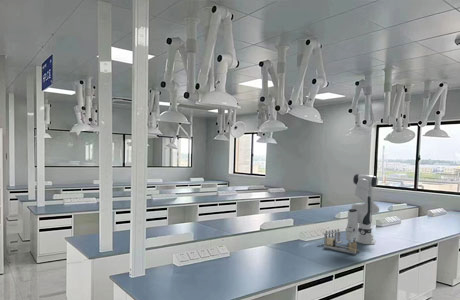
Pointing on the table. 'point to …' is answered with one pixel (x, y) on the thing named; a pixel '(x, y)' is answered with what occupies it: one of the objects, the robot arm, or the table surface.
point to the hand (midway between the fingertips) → (352, 243)
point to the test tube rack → (332, 236)
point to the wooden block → (352, 246)
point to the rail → (338, 247)
